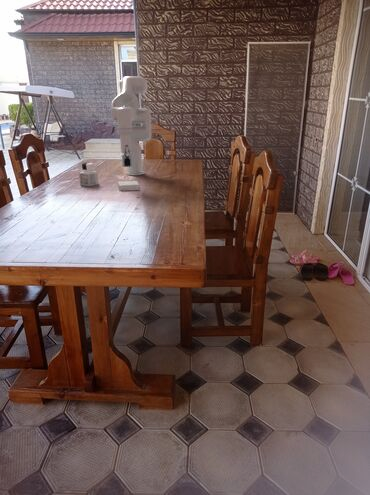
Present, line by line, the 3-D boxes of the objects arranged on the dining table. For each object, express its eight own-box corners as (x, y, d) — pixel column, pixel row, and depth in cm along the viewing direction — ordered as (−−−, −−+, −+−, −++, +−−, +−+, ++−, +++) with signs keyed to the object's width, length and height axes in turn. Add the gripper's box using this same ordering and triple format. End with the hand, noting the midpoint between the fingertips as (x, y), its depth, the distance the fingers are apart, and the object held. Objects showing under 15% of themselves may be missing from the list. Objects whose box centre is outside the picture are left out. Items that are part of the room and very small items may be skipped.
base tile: (118, 186, 220) (117, 181, 218) (136, 185, 222) (136, 180, 221) (119, 190, 210) (119, 185, 209) (139, 189, 212) (138, 184, 211)
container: (80, 185, 223) (77, 163, 218) (88, 182, 229) (86, 161, 225) (90, 186, 220) (88, 164, 215) (98, 184, 226) (96, 162, 221)
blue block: (122, 165, 213) (121, 154, 210) (131, 165, 214) (130, 154, 211) (123, 167, 208) (122, 156, 206) (131, 166, 209) (131, 155, 207)
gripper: (117, 130, 211) (119, 163, 218) (119, 133, 196) (121, 167, 202) (130, 130, 213) (132, 162, 219) (133, 132, 197) (135, 167, 204)
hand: (127, 164), depth 211 cm, fingers closed on blue block, 5 cm apart
